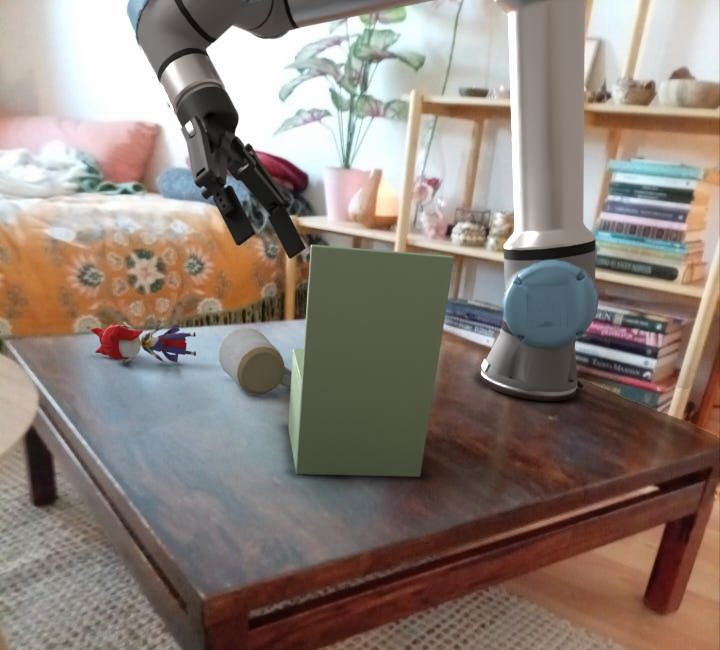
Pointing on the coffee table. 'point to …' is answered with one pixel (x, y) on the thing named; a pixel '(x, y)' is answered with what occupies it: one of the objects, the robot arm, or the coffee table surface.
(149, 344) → the figurine
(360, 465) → the tall sage green prism
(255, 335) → the ceramic mug
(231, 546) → the coffee table surface
